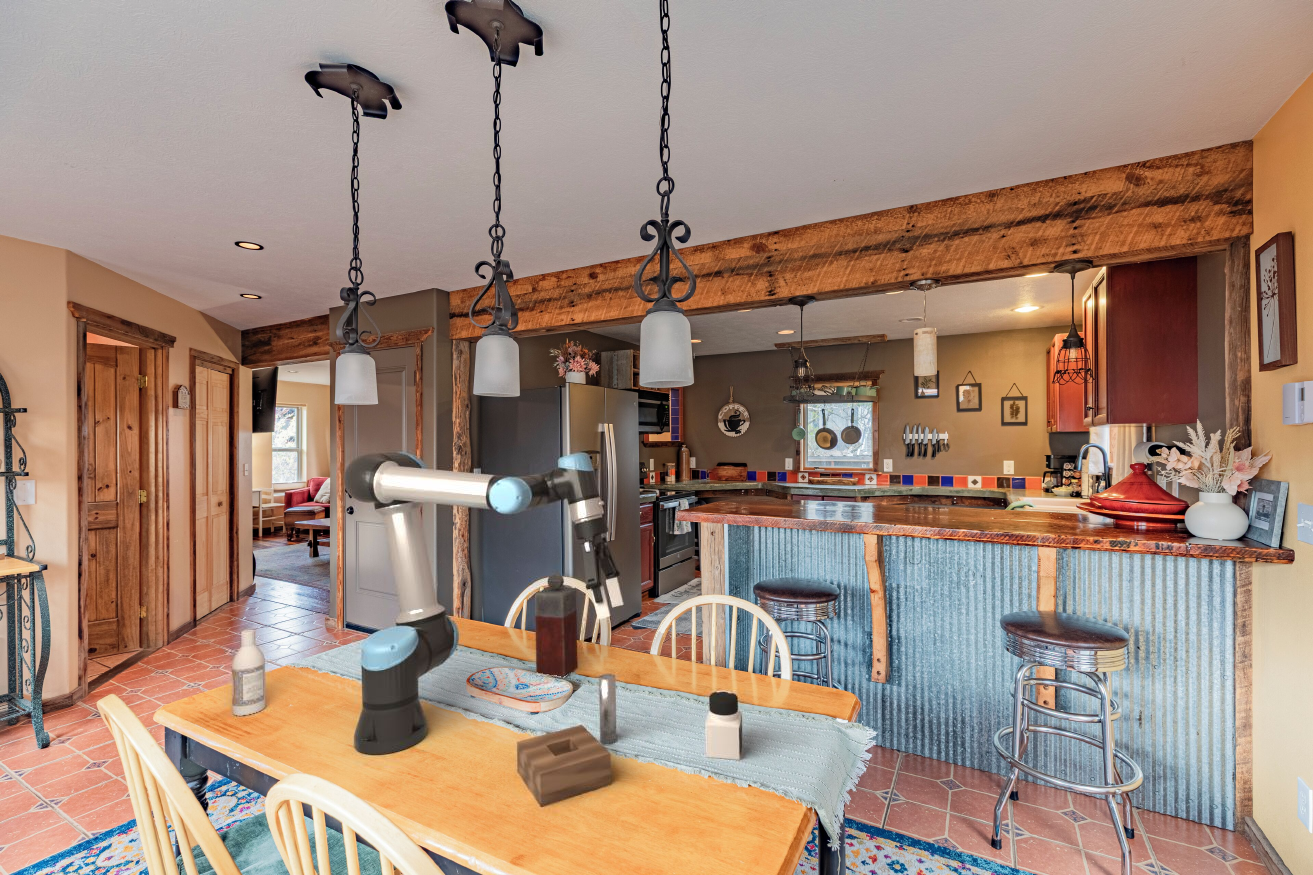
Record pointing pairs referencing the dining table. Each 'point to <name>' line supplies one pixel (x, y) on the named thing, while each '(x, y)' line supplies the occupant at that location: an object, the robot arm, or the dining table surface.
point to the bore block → (563, 764)
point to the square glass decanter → (556, 628)
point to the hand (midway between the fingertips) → (611, 611)
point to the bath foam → (248, 677)
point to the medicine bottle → (723, 726)
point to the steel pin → (607, 708)
